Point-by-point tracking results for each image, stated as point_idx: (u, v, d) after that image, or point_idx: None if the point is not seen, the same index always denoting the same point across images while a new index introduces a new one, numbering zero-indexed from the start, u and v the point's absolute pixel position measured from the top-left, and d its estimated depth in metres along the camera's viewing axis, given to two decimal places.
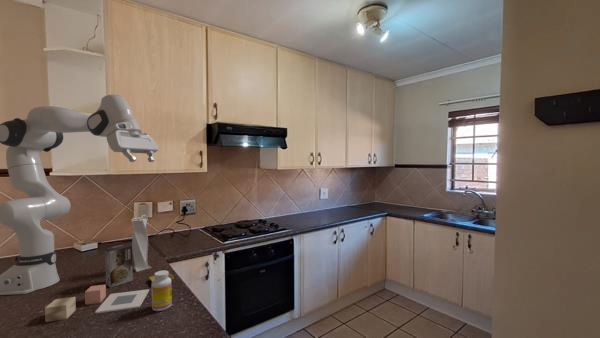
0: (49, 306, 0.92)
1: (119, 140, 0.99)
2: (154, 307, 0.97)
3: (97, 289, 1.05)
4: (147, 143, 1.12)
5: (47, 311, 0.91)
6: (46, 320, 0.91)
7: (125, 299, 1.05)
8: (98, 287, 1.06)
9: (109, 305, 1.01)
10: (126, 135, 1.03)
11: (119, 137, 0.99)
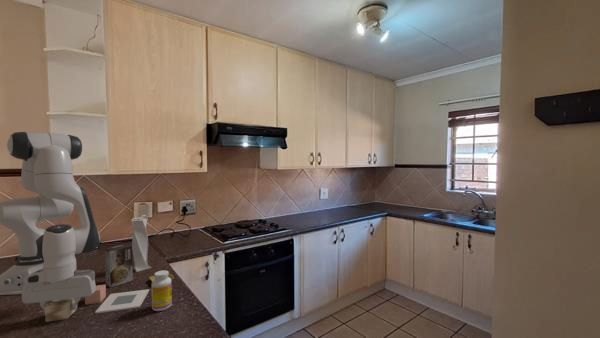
0: (49, 306, 0.92)
1: (26, 295, 0.91)
2: (154, 307, 0.97)
3: (97, 289, 1.05)
4: (74, 290, 0.95)
5: (47, 311, 0.91)
6: (46, 320, 0.91)
7: (125, 299, 1.05)
8: (98, 287, 1.06)
9: (109, 305, 1.01)
10: (41, 285, 0.92)
11: (27, 291, 0.91)
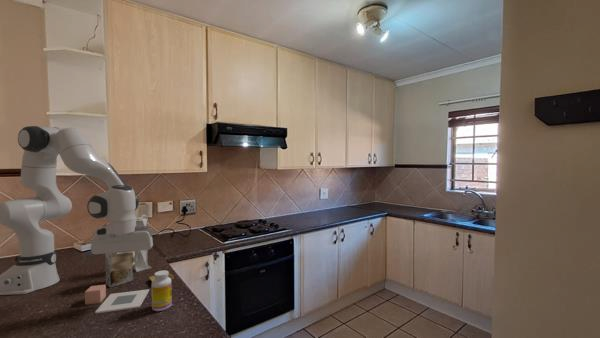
0: (114, 257, 1.01)
1: (95, 246, 1.00)
2: (154, 307, 0.97)
3: (97, 289, 1.05)
4: (136, 244, 1.04)
5: (112, 261, 1.01)
6: (112, 269, 1.01)
7: (125, 299, 1.05)
8: (98, 287, 1.06)
9: (109, 305, 1.01)
10: (108, 238, 1.01)
11: (96, 243, 1.00)
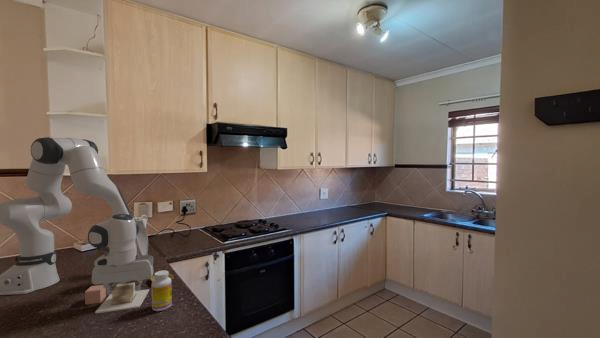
0: (115, 290, 1.02)
1: (95, 276, 1.00)
2: (154, 307, 0.97)
3: (97, 289, 1.05)
4: (136, 273, 1.04)
5: (113, 295, 1.01)
6: (113, 302, 1.01)
7: None
8: (98, 287, 1.06)
9: (109, 305, 1.01)
10: (108, 268, 1.02)
11: (96, 273, 1.00)
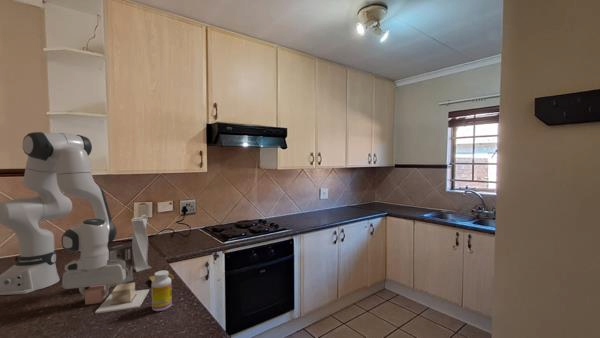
0: (115, 290, 1.02)
1: (66, 281, 1.01)
2: (154, 307, 0.97)
3: (97, 288, 1.05)
4: (108, 277, 1.05)
5: (113, 295, 1.01)
6: (113, 302, 1.01)
7: None
8: (98, 287, 1.06)
9: (109, 305, 1.01)
10: (79, 273, 1.02)
11: (67, 278, 1.01)
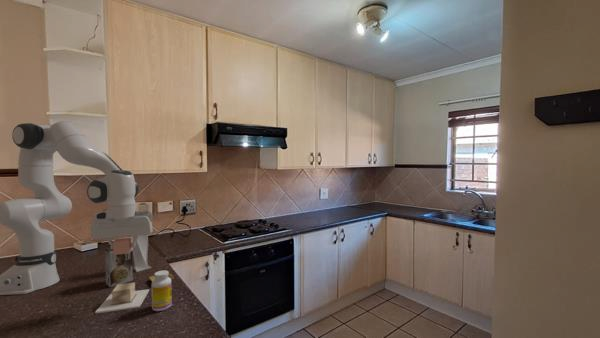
0: (115, 290, 1.02)
1: (94, 230, 1.00)
2: (154, 307, 0.97)
3: (125, 239, 1.03)
4: (135, 228, 1.04)
5: (113, 295, 1.01)
6: (113, 302, 1.01)
7: None
8: (125, 238, 1.05)
9: (109, 305, 1.01)
10: (107, 223, 1.01)
11: (95, 227, 1.00)
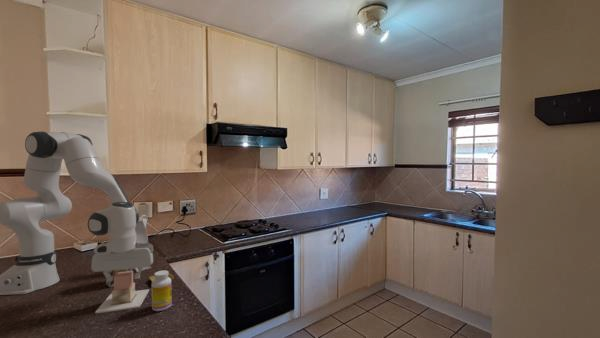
0: (115, 290, 1.02)
1: (95, 264, 1.00)
2: (154, 307, 0.97)
3: (126, 274, 1.04)
4: (136, 260, 1.04)
5: (113, 295, 1.01)
6: (113, 302, 1.01)
7: None
8: (126, 273, 1.05)
9: (109, 305, 1.01)
10: (108, 255, 1.02)
11: (96, 261, 1.00)
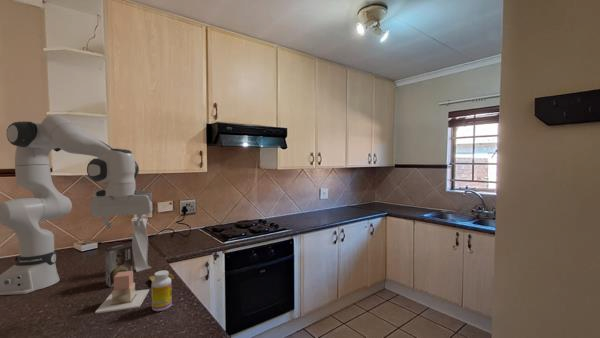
0: (115, 290, 1.02)
1: (94, 208, 1.00)
2: (154, 307, 0.97)
3: (126, 274, 1.04)
4: (135, 207, 1.04)
5: (113, 295, 1.01)
6: (113, 302, 1.01)
7: None
8: (126, 273, 1.05)
9: (109, 305, 1.01)
10: (107, 200, 1.01)
11: (95, 205, 1.00)
